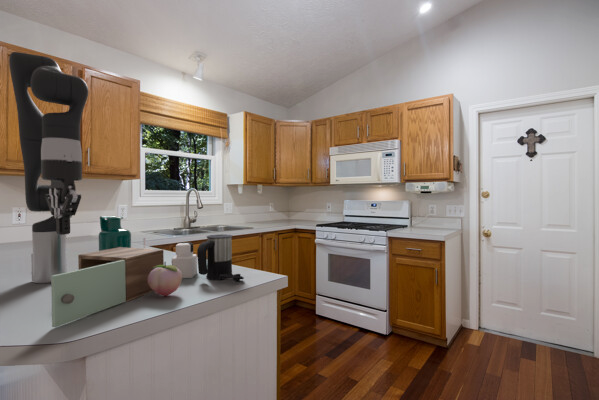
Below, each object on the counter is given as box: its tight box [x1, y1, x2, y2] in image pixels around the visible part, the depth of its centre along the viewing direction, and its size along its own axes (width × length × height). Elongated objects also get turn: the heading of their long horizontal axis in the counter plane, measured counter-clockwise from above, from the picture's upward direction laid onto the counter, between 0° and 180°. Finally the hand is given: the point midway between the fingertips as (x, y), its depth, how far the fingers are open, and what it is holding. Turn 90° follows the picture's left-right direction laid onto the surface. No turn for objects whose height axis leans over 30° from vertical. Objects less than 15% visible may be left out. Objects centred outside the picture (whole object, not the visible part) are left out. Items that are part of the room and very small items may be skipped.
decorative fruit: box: [147, 261, 183, 297], centre depth 89 cm, size 9×8×10 cm
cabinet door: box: [50, 260, 126, 328], centre depth 75 cm, size 18×2×11 cm, turn 160°
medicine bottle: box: [171, 241, 198, 279], centre depth 112 cm, size 7×7×12 cm
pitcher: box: [98, 215, 132, 251], centre depth 111 cm, size 10×8×22 cm
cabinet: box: [77, 247, 165, 303], centre depth 94 cm, size 18×14×12 cm
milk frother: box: [196, 233, 245, 283], centre depth 107 cm, size 14×16×15 cm
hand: (63, 234), depth 72 cm, fingers closed
